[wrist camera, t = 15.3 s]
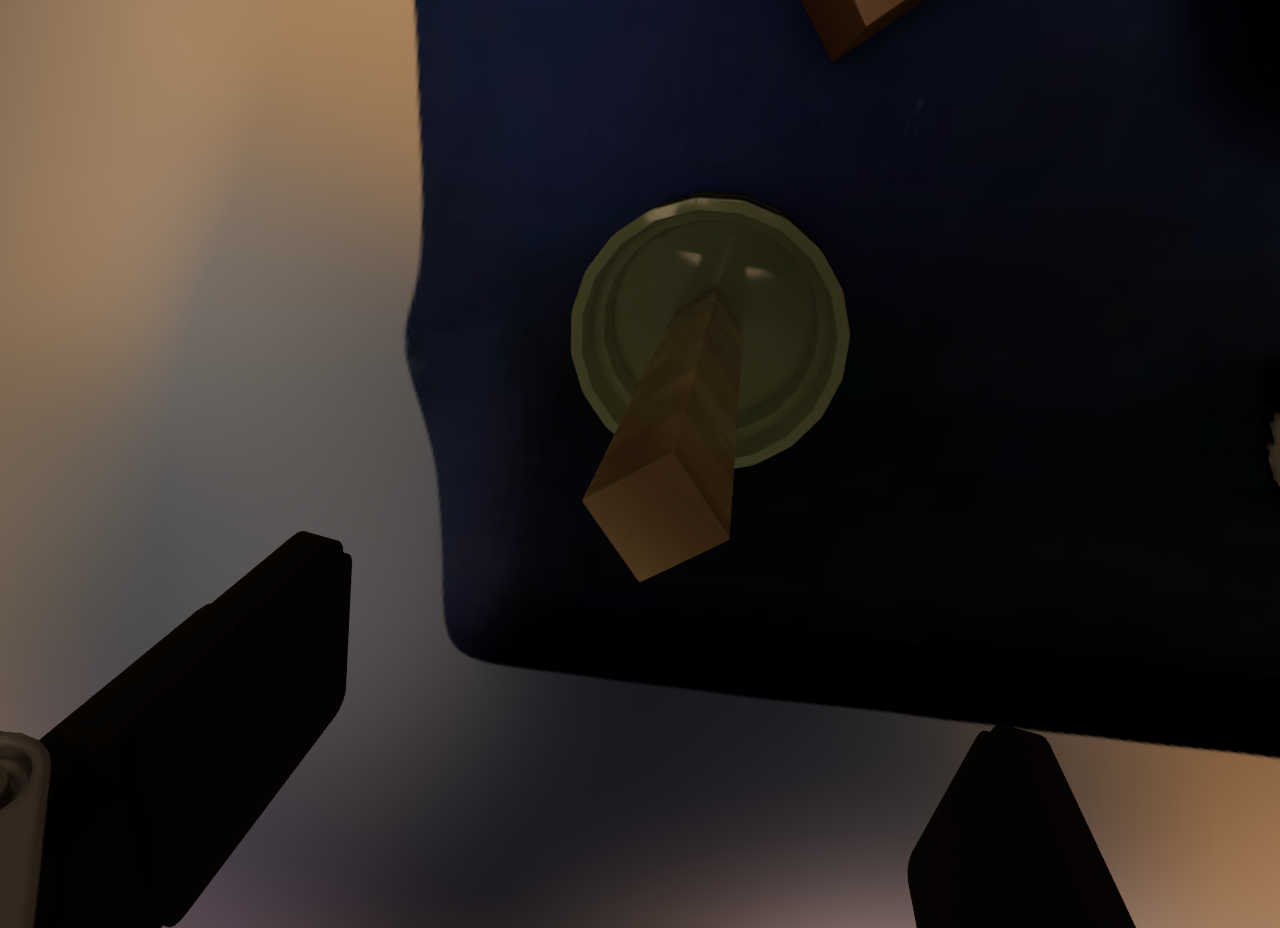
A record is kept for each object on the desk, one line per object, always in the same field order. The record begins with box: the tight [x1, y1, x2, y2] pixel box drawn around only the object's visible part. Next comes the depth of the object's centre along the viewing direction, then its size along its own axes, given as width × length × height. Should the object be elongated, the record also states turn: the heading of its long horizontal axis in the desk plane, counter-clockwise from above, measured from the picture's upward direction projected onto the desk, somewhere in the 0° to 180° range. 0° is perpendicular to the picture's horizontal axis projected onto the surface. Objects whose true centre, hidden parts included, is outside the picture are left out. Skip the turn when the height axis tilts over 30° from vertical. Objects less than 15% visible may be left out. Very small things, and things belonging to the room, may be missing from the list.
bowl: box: [571, 191, 850, 468], centre depth 32 cm, size 11×11×5 cm
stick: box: [582, 287, 743, 582], centre depth 25 cm, size 2×2×20 cm
